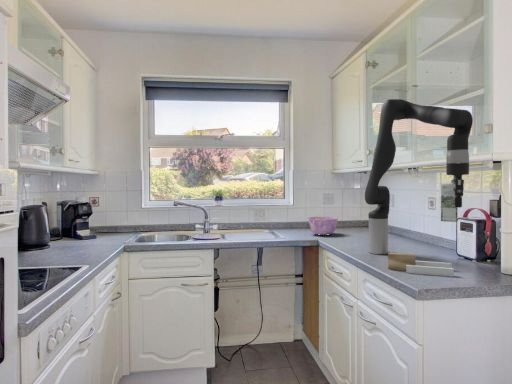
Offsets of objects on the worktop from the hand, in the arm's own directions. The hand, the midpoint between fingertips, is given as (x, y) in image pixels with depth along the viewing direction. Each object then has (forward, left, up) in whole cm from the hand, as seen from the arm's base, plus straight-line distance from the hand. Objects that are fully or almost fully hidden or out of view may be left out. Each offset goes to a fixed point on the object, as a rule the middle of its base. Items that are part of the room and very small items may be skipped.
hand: (457, 206), depth 137 cm
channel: (+2, -12, -25) cm, 28 cm away
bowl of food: (-85, -73, -26) cm, 115 cm away
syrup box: (0, -3, -6) cm, 7 cm away
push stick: (+2, -20, -25) cm, 32 cm away
